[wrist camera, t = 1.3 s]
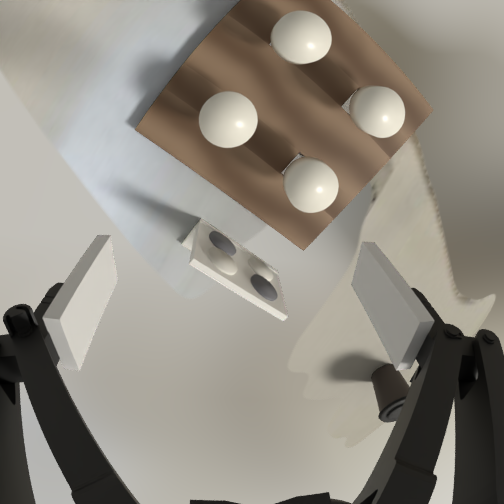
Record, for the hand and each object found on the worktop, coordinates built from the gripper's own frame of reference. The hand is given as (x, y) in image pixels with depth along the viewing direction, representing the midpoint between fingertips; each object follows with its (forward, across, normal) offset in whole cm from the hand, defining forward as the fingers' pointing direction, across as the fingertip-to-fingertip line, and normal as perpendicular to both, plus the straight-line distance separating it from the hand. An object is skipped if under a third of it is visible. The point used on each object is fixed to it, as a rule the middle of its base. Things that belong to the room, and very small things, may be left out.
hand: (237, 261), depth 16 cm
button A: (+18, +5, +14) cm, 23 cm away
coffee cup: (+22, +30, -37) cm, 52 cm away
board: (+21, +6, +7) cm, 23 cm away
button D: (+18, +7, 0) cm, 20 cm away
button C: (+18, -1, +6) cm, 19 cm away
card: (+21, 0, -12) cm, 24 cm away
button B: (+18, +13, +8) cm, 24 cm away
